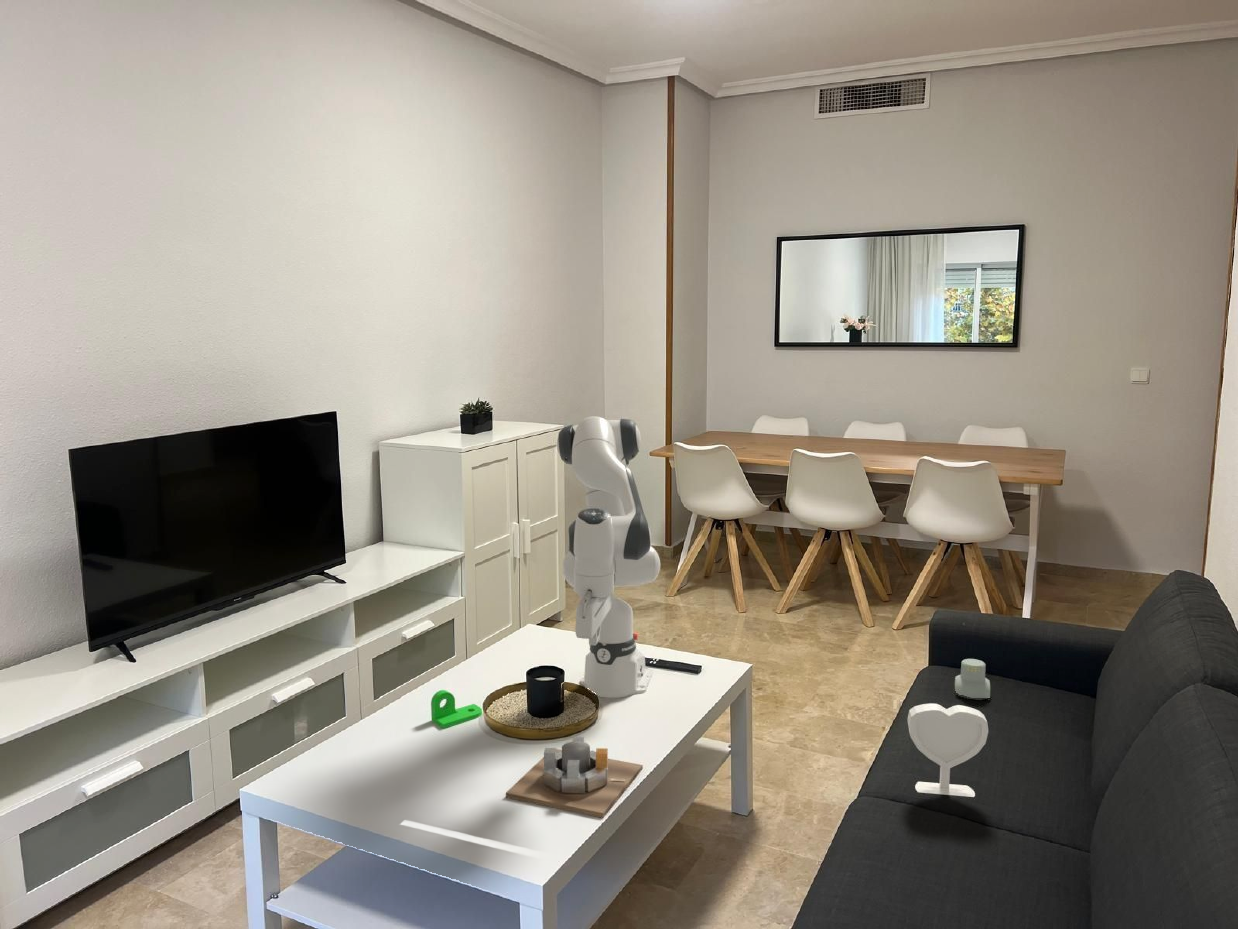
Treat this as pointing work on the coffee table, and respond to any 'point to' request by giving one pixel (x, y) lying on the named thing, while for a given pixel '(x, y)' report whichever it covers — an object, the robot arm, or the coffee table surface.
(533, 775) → the base plate
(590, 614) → the robot arm
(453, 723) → the mechanical part
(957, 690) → the air freshener
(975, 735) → the heart sculpture
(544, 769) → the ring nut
